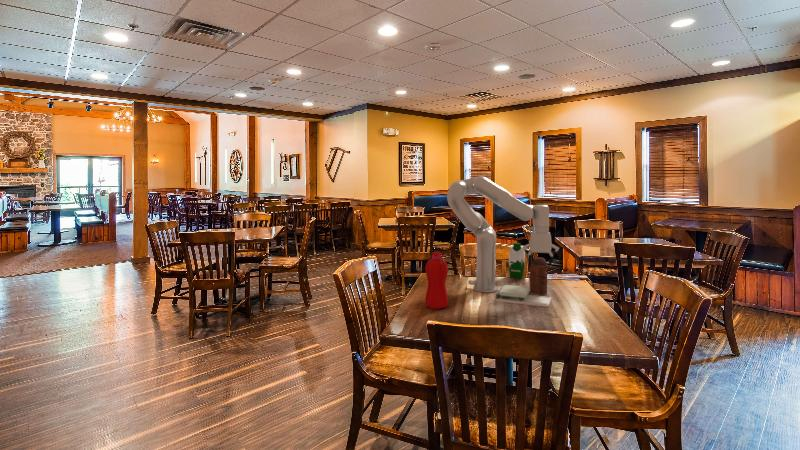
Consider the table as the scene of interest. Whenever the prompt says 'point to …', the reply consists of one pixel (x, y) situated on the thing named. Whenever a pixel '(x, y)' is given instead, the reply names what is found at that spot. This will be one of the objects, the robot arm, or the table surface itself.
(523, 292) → the pale green flat box
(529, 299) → the rail track
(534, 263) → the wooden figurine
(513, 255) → the milk carton
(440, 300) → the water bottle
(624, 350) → the table surface
